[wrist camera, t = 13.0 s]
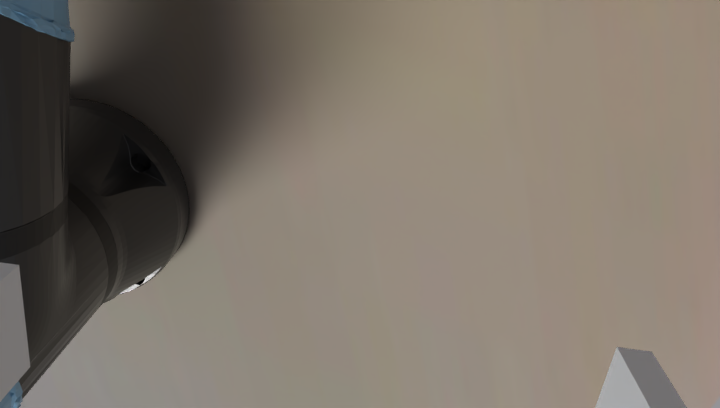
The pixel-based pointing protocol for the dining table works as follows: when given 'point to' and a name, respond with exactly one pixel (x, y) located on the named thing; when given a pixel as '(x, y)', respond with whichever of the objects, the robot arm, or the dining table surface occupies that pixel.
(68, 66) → the robot arm
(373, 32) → the dining table surface
